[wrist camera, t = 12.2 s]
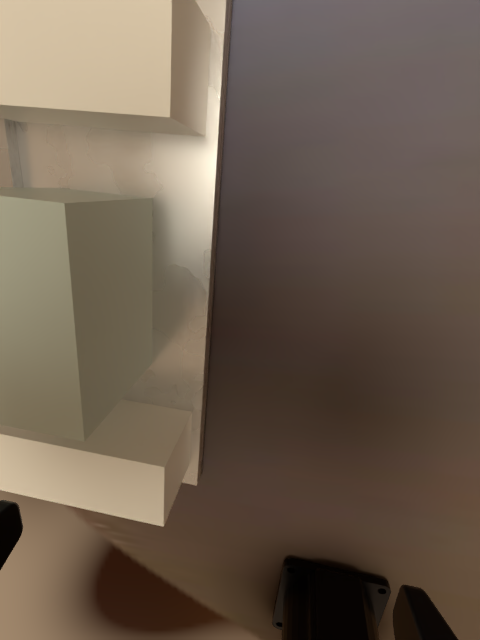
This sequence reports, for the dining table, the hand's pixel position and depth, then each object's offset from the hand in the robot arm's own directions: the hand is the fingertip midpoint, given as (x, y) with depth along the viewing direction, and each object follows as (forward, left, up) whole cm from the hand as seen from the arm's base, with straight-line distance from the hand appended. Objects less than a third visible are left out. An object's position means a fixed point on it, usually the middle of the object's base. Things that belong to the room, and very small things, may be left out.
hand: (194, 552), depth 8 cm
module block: (+3, +7, -10) cm, 12 cm away
